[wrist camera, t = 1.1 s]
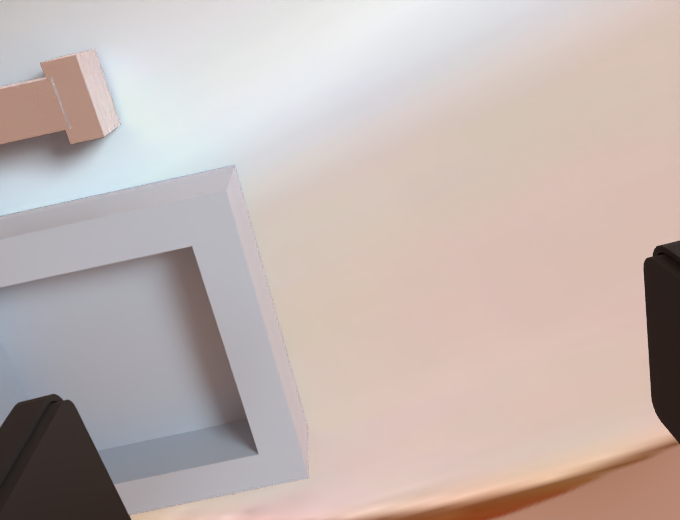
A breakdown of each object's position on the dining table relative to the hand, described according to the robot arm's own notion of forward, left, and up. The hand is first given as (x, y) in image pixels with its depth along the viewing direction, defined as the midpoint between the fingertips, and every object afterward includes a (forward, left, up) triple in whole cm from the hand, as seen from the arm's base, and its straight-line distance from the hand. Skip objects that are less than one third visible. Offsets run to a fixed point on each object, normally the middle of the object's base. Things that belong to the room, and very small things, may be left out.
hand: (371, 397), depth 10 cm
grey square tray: (+8, -12, -20) cm, 25 cm away
